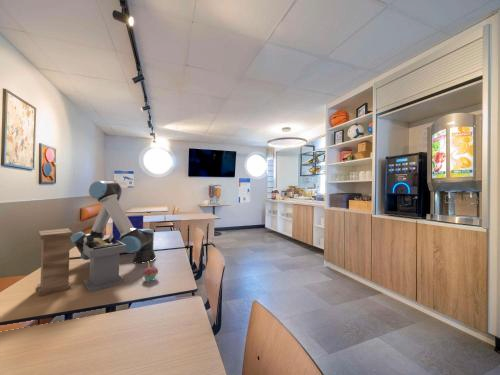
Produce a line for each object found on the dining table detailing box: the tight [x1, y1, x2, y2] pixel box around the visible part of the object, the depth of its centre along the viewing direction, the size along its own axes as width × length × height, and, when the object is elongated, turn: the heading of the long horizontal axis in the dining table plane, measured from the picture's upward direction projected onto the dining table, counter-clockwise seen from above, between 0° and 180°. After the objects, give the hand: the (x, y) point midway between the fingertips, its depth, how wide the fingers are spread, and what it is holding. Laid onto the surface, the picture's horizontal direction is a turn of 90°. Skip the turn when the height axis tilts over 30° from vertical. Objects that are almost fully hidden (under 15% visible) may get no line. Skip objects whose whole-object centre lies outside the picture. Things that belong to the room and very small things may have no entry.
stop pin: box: [93, 238, 120, 250], centre depth 126 cm, size 24×12×3 cm, turn 48°
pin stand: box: [36, 227, 73, 297], centre depth 114 cm, size 14×12×30 cm
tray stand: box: [83, 240, 126, 293], centre depth 121 cm, size 15×17×22 cm
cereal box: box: [111, 214, 144, 255], centre depth 178 cm, size 22×6×30 cm, turn 122°
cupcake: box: [141, 262, 159, 282], centre depth 127 cm, size 9×8×12 cm
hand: (99, 237), depth 129 cm, fingers open, 13 cm apart
